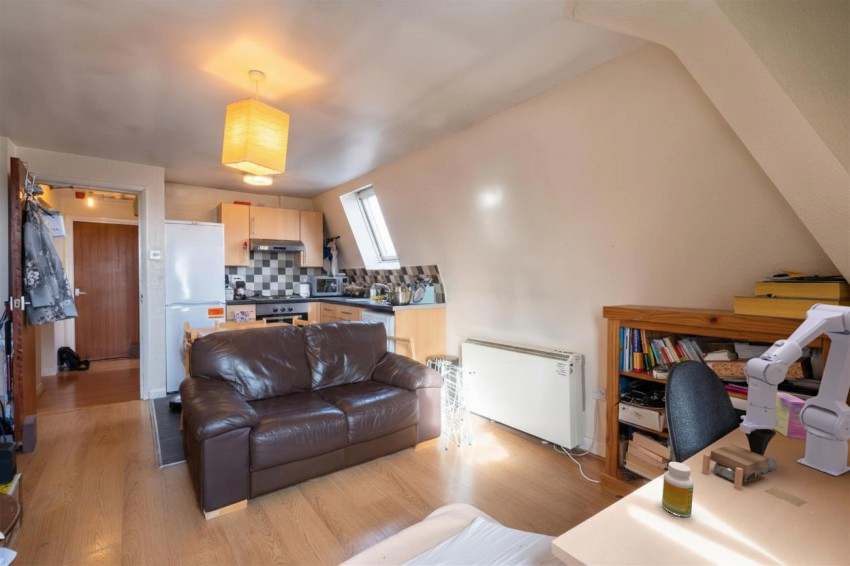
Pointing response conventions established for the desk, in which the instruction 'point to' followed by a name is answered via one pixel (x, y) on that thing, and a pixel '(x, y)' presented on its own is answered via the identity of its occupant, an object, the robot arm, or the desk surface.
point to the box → (789, 416)
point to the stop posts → (737, 472)
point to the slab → (739, 459)
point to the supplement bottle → (678, 489)
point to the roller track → (772, 463)
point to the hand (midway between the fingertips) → (756, 455)
